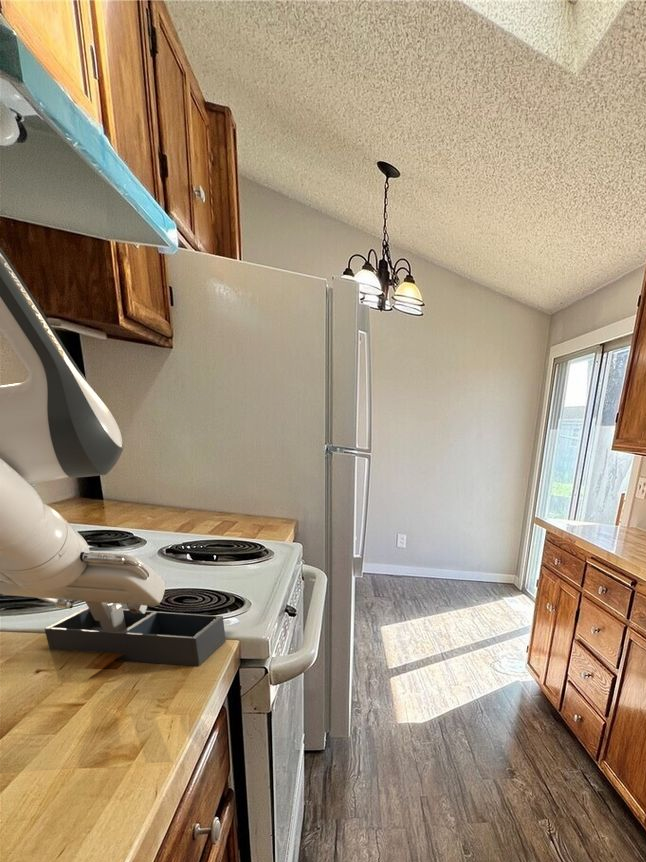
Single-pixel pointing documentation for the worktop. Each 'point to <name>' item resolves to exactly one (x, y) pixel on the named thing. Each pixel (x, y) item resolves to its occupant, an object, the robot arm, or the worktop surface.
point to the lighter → (108, 615)
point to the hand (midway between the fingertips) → (104, 606)
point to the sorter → (143, 637)
